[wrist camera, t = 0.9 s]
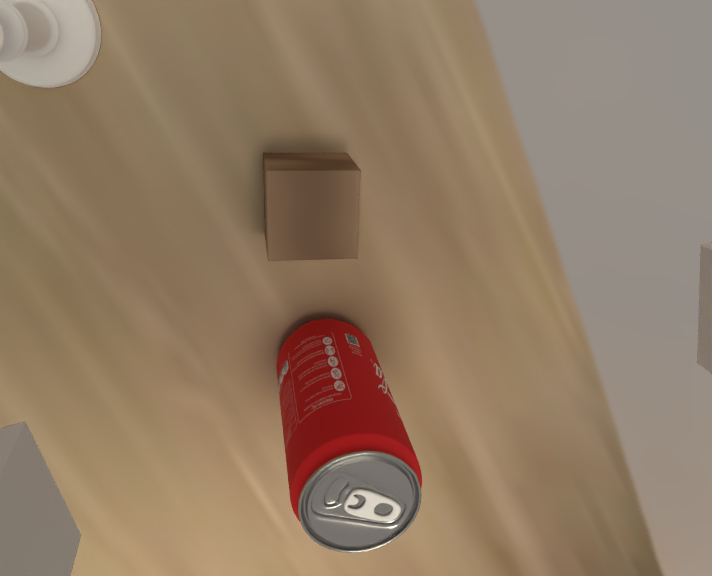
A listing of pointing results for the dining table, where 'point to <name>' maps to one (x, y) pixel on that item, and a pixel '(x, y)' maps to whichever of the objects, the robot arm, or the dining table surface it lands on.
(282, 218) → the walnut cube
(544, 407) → the dining table surface
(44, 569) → the robot arm
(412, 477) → the beverage can
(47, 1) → the chess piece
